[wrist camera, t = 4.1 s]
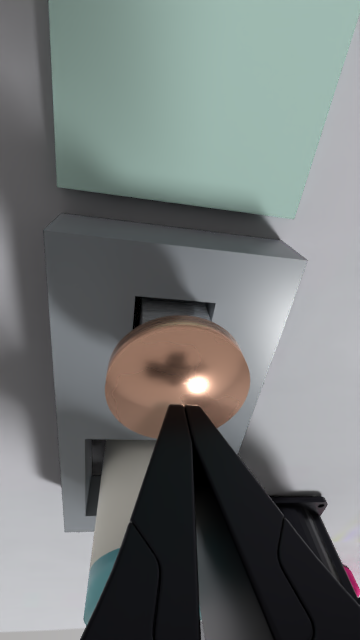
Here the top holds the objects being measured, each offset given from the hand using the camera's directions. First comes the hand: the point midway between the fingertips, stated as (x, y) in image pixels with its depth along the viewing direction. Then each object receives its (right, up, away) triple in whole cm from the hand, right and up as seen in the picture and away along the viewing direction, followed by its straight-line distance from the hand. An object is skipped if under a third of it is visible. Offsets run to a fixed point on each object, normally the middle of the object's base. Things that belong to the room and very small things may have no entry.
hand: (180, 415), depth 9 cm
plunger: (-1, +3, +6) cm, 7 cm away
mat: (+1, +11, +2) cm, 11 cm away
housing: (-1, -1, +8) cm, 9 cm away
